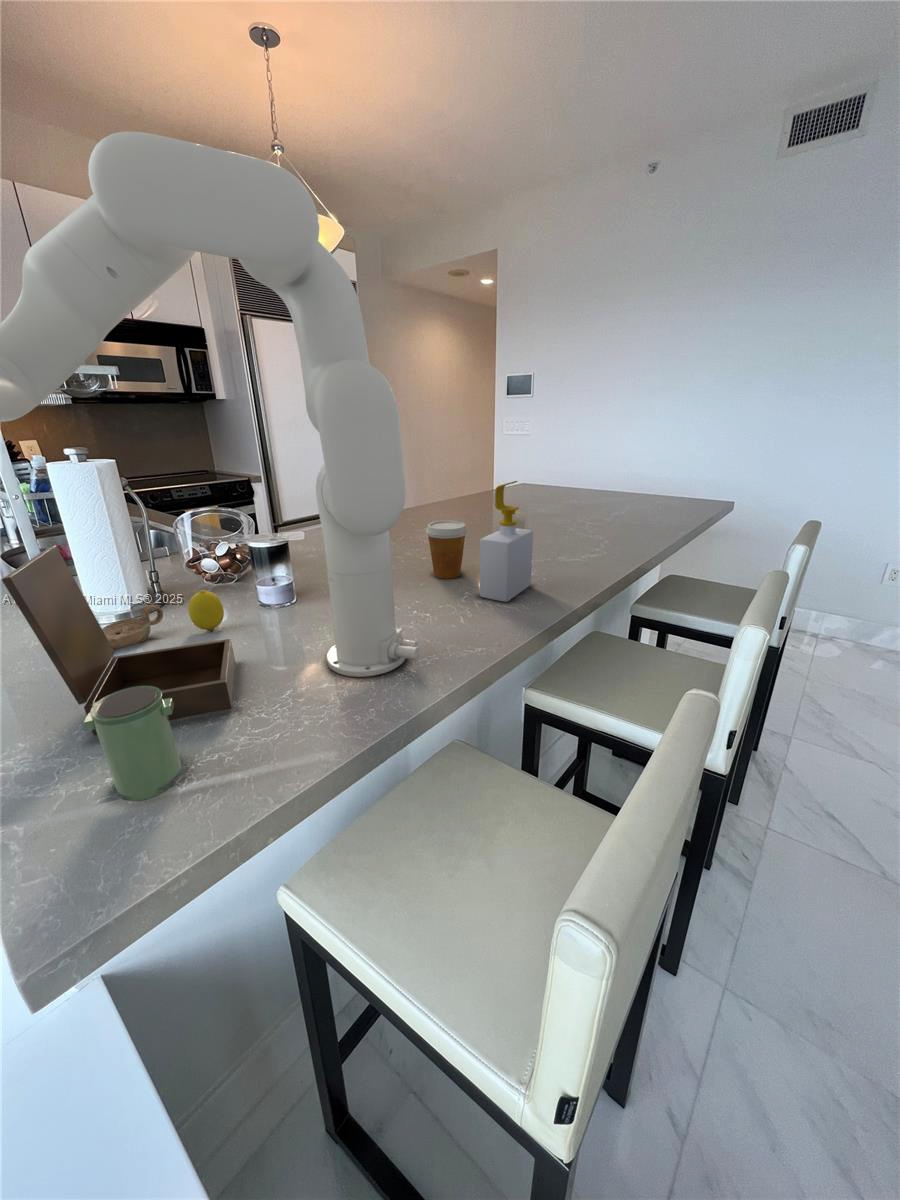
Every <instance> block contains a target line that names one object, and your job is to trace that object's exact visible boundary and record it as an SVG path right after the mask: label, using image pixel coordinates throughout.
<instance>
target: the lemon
mask: <svg viewBox="0 0 900 1200" xmlns="http://www.w3.org/2000/svg"><path fill="white" fill-rule="evenodd" d="M188 615H189V618H190V621H191V622H192V623H193V625H194V626H195V627H197V628H198V629H201V630H203V631H207V632H209V633H210V632H213V631H214V630H215V628H217V627H219V626H220V625H221V623H222V622H223V619H224V616H225V611H224V606H223V603H222V601H221V599H220V598H219V596H218V595H216V594H215V593H214V592H211V591H208V590H205V589H200V590H199V591H198V592H196V593H195V594H193V596H191V598H190V599H189V603H188Z"/></svg>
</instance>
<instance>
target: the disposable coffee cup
mask: <svg viewBox="0 0 900 1200" xmlns="http://www.w3.org/2000/svg"><path fill="white" fill-rule="evenodd" d="M467 532H468V529H467V528H466V524H465V523H464V522H462V521H457V520H437V521H433V522H430V523H428V524H427V528H426V529H425V533H426V536H427V537H428V543H429V551H430V556H431V563H432V569H433V575H434V577H436V578H439V579H454V578H457V577H460V575H461V573H462V564H463V557H464V547H465V539H466V535H467Z"/></svg>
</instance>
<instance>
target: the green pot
mask: <svg viewBox="0 0 900 1200" xmlns="http://www.w3.org/2000/svg"><path fill="white" fill-rule="evenodd" d="M173 708H174V703H173V699H172V698H168V699H163V694H162V691H161V690H160V689H159V688H157V687H153V686H136V687H131V688H126V689H123V690H120V691H117V692H114V693H112V694H110V695H108V696H106V697H104V698H102V699H101V700H99V701H98V702H97V703H96V704H95V705H94V706H93V707H92V708H91V711H90V713H88V715H86V717H85V718H84V720H83V726H84V729H85V732H86V731H92V730H93V729H96V732H97V735H96V736H97V738H98V740H99V744H100V746H101V748H102V749H101V750H102V752H103V755H104V758H105V761H106V764H107V767H108V770H109V773H110V776H111V778H112V781H113V785H114V787H115V790H116V791H117V792H118V794H120V795H123V796H126V797H122V798H121V799H122V800H125V801H128V802H140V801H144V800H149V799H151V798H154V797H157V796H159V795H161V794H163V793H165V792H167V791H168V790H169V789H171V788H172V786H169V787H165V786H166V785H168V784H169V783H170V782H172V781H173V780H174V779H175V778H176V777H177V776H178V775H179V773H180V771H181V768H182V762H181V758H180V754H179V750H178V747H177V744H176V740H175V737H174V732H173V729H172V725H171V720H169V717H168V715H171V714H172V711H173ZM162 787H164V788H162Z"/></svg>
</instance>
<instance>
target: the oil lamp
mask: <svg viewBox="0 0 900 1200" xmlns="http://www.w3.org/2000/svg"><path fill="white" fill-rule="evenodd" d="M153 610H155V611H156V613H157V614H156V617H155V618H154V619H153V620H151V618H150V612H151V611H153ZM163 618H164V610H163V609H162V608H161V607H159V606H158V605H154V604H150V605H147V606H146V607H145V608H144V607H143V609H142V613H141V617H133V618H128V619H127V618H126V619H122V620H117V621H114V622H112V623H110V624H107V625H105V626H104V627H102V630H103V632H104V634H105V636H106V637H107V639H108V641H109V643H110V645H111V647H112V648H113V650H114V651H115V650H117V649H121V648H126V647H129V646H133V645H136V644H141V643H144V641H146V640H147V639H148V637H150V634H151V626H155V625H158V624H159V623H160V622H161V621H162V620H163Z"/></svg>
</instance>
